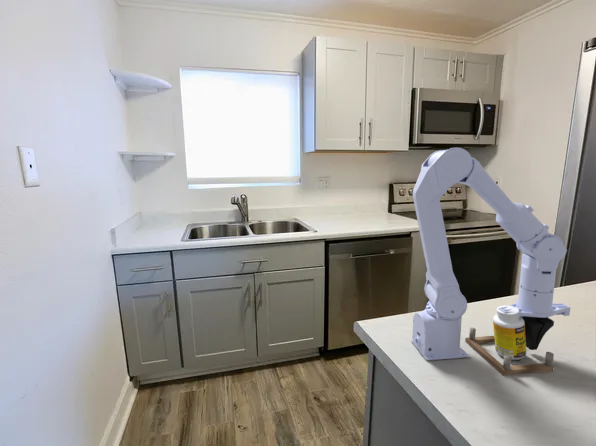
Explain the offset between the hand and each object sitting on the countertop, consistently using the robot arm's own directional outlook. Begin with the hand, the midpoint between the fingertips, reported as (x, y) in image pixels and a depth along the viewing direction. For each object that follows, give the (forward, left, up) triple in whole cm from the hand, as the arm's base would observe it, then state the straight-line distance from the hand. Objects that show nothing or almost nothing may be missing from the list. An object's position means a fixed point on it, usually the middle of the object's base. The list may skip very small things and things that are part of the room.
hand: (530, 347), depth 67 cm
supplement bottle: (-4, 0, -1) cm, 4 cm away
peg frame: (-5, 0, -2) cm, 5 cm away
